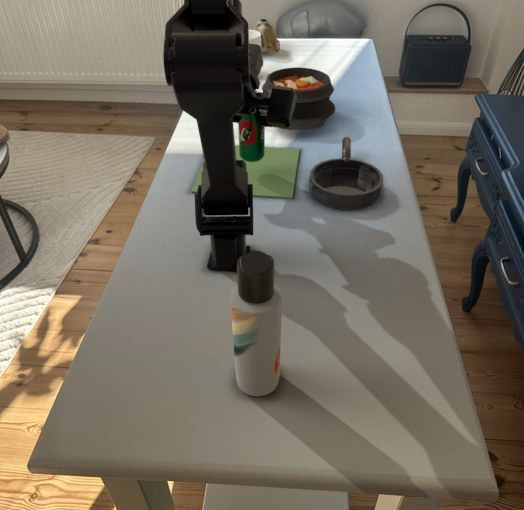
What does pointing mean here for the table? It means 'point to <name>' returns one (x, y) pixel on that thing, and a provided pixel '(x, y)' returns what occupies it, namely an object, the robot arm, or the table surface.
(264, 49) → the ceramic sculpture
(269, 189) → the napkin
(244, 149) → the soda can
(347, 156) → the pan handle
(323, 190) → the pan
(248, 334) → the lotion bottle
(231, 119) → the robot arm
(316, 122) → the casserole
